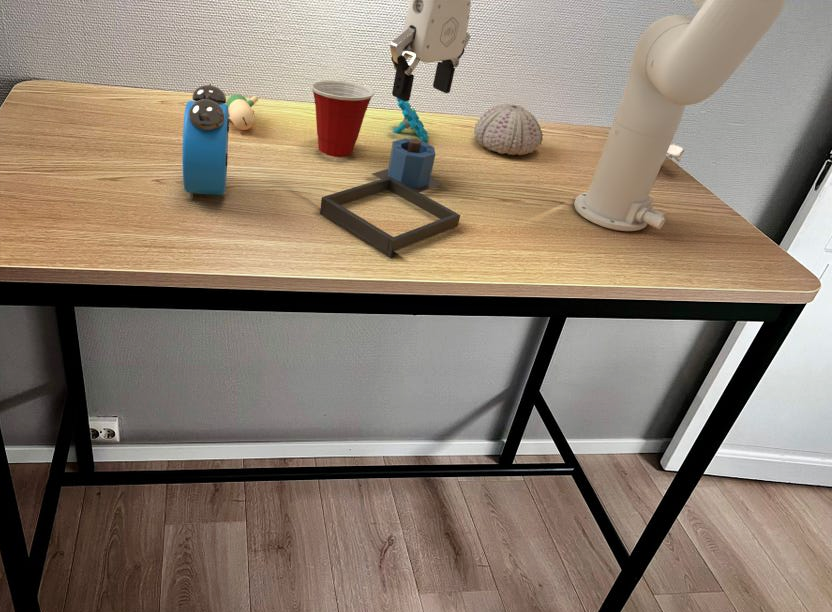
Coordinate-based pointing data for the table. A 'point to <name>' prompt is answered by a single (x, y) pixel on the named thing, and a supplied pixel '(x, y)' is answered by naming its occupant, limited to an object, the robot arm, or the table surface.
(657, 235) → the table surface
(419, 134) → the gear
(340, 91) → the plastic cup
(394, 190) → the tray
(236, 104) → the toy figurine
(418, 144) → the dowel stand
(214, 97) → the alarm clock
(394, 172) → the ring
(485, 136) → the sea urchin shell
